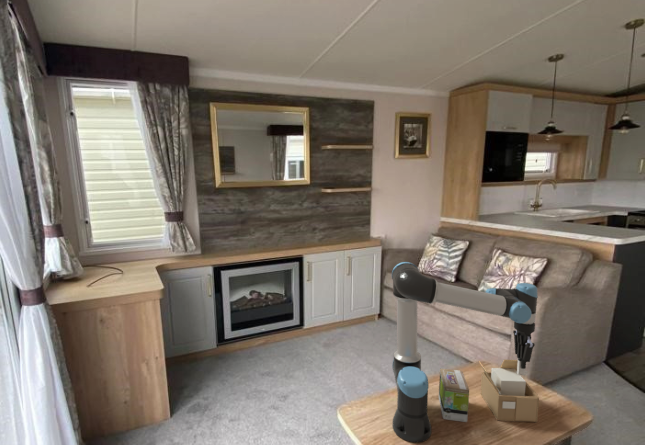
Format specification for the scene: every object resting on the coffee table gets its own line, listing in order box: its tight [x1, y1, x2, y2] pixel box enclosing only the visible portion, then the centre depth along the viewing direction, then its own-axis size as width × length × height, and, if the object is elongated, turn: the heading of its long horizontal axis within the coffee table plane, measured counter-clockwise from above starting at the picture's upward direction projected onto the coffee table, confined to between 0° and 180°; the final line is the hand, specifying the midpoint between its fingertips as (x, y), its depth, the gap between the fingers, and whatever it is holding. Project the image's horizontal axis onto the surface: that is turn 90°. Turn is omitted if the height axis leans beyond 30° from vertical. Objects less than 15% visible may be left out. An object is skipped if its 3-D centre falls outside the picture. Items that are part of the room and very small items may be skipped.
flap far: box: [499, 359, 518, 371], centre depth 154 cm, size 10×8×1 cm
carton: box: [480, 367, 540, 423], centre depth 149 cm, size 16×19×15 cm
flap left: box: [478, 360, 499, 392], centre depth 147 cm, size 10×9×1 cm
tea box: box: [438, 368, 470, 423], centre depth 149 cm, size 15×10×15 cm
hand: (520, 373), depth 145 cm, fingers closed
